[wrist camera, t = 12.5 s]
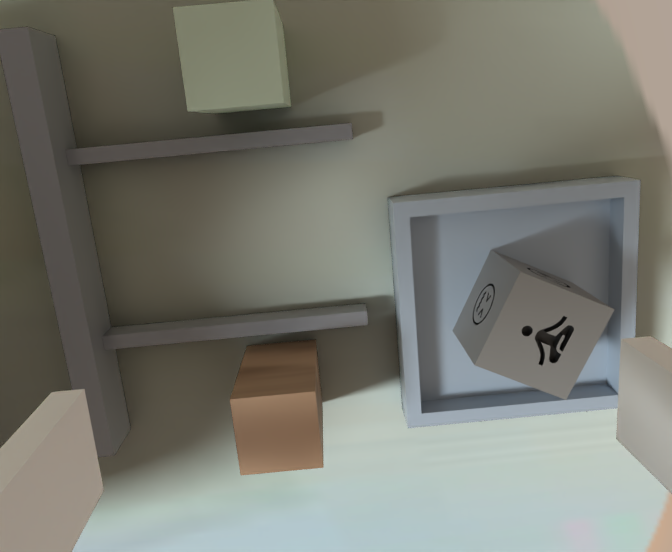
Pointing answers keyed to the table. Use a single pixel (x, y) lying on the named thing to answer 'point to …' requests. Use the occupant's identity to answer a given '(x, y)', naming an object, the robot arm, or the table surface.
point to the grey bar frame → (78, 240)
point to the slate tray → (525, 246)
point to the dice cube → (530, 325)
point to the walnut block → (278, 408)
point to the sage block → (232, 56)
